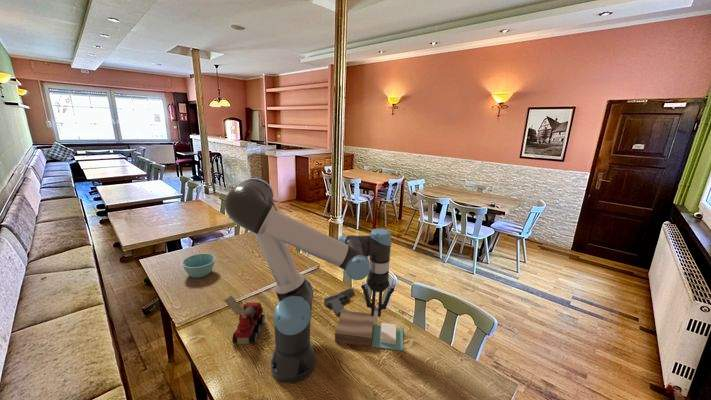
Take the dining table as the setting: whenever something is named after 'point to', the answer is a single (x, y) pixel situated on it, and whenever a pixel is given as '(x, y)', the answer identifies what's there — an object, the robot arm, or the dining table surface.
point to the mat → (385, 345)
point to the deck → (355, 328)
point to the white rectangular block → (388, 333)
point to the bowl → (199, 265)
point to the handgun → (338, 301)
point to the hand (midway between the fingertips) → (375, 322)
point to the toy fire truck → (246, 321)
